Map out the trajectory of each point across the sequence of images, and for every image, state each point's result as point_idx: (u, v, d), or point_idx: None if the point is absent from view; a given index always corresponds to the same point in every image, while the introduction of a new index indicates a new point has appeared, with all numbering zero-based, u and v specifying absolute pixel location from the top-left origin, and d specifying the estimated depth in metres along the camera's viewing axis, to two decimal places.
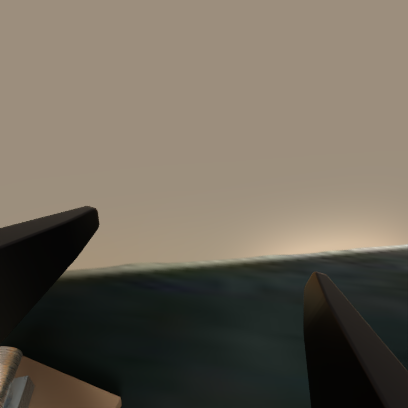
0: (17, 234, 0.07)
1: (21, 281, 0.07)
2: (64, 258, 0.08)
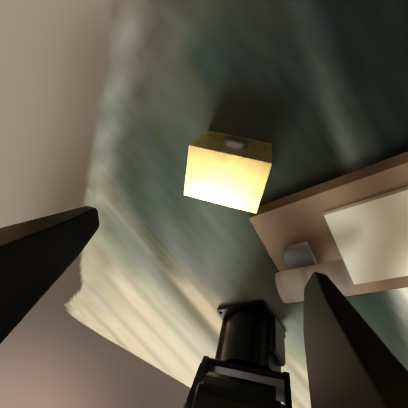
0: (17, 234, 0.07)
1: (21, 281, 0.07)
2: (64, 258, 0.08)
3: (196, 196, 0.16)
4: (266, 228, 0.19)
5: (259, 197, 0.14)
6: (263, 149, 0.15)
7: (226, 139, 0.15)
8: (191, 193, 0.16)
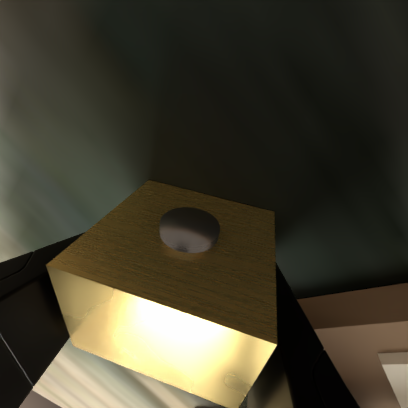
0: None
1: None
2: None
3: (98, 354, 0.07)
4: None
5: (242, 391, 0.05)
6: (255, 246, 0.07)
7: (165, 226, 0.06)
8: (87, 347, 0.07)
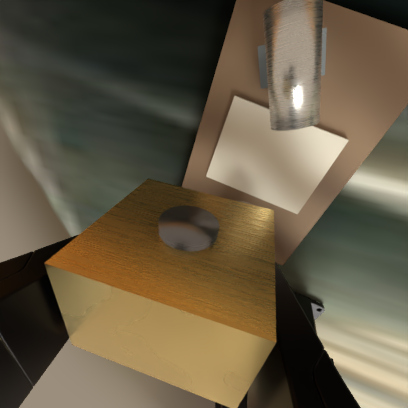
0: None
1: None
2: None
3: (97, 353, 0.07)
4: None
5: (242, 390, 0.05)
6: (254, 244, 0.07)
7: (164, 224, 0.06)
8: (86, 346, 0.07)
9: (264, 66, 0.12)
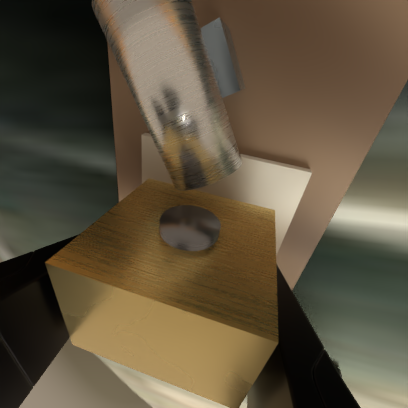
0: None
1: None
2: None
3: (98, 353, 0.07)
4: None
5: (243, 390, 0.05)
6: (255, 244, 0.06)
7: (165, 224, 0.06)
8: (86, 346, 0.07)
9: None
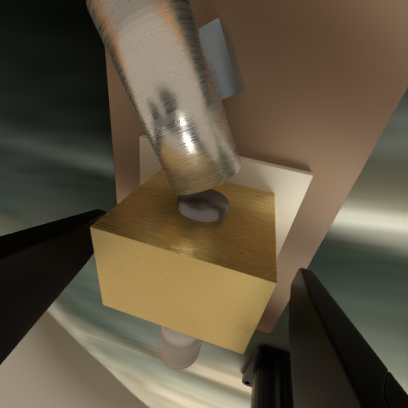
0: (31, 238, 0.07)
1: (35, 286, 0.07)
2: (76, 262, 0.08)
3: (125, 310, 0.08)
4: None
5: (248, 333, 0.07)
6: (258, 218, 0.08)
7: (183, 200, 0.07)
8: (115, 304, 0.08)
9: None
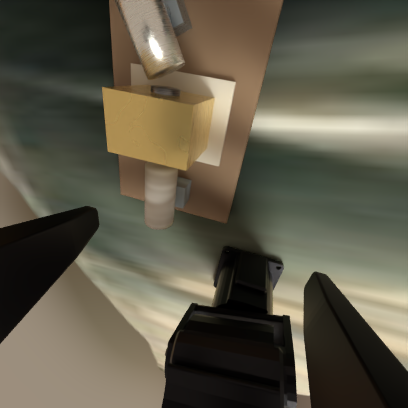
0: (17, 234, 0.07)
1: (21, 281, 0.07)
2: (64, 258, 0.08)
3: (121, 152, 0.14)
4: (134, 189, 0.22)
5: (186, 150, 0.12)
6: (197, 98, 0.13)
7: (153, 86, 0.13)
8: (115, 149, 0.14)
9: None
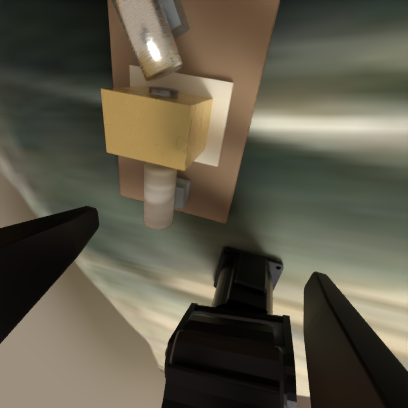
0: (17, 234, 0.07)
1: (21, 281, 0.07)
2: (64, 258, 0.08)
3: (120, 153, 0.14)
4: (133, 190, 0.22)
5: (184, 150, 0.13)
6: (195, 99, 0.14)
7: (151, 87, 0.13)
8: (114, 150, 0.14)
9: None
